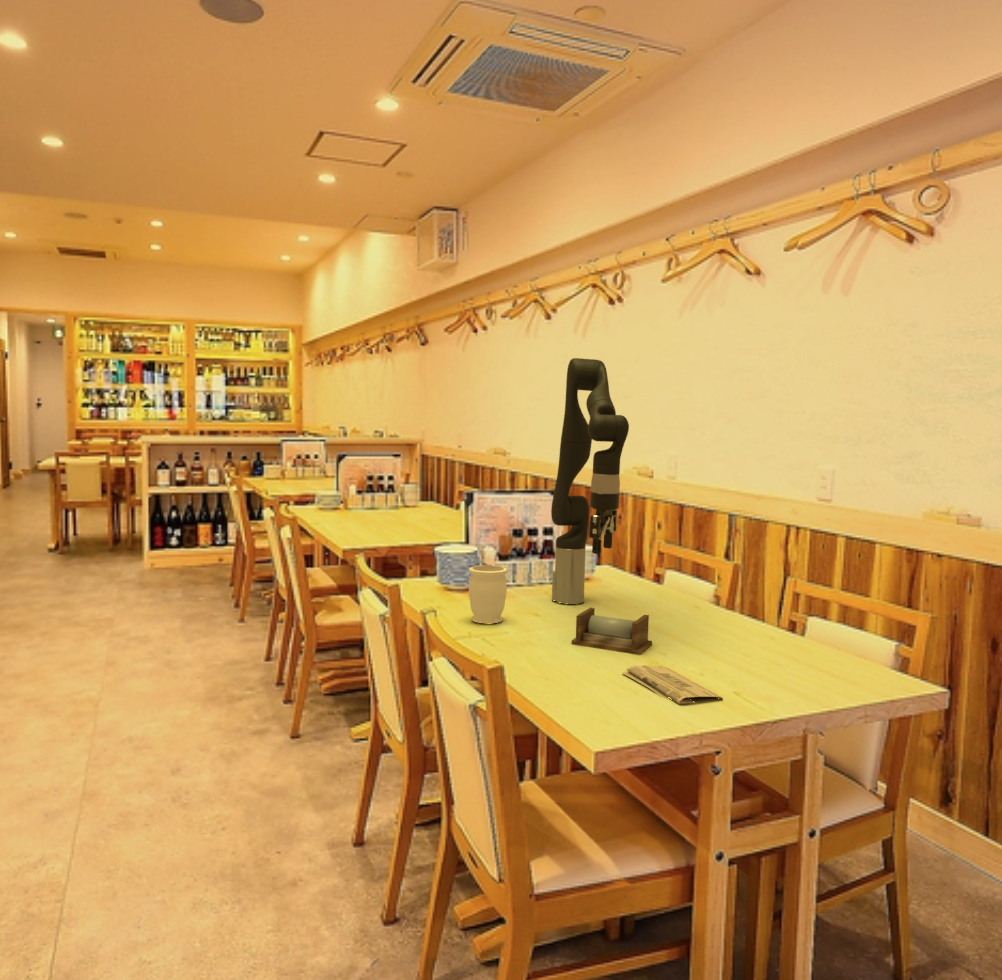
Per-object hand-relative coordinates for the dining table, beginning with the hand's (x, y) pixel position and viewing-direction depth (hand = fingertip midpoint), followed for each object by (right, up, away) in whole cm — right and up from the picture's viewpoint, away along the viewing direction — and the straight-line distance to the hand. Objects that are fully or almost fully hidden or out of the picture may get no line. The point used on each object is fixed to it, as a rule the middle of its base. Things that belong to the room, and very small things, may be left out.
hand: (602, 550), depth 213 cm
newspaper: (+9, -27, -41) cm, 50 cm away
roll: (+1, -21, -10) cm, 24 cm away
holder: (+1, -23, -10) cm, 25 cm away
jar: (-31, -21, +11) cm, 39 cm away
